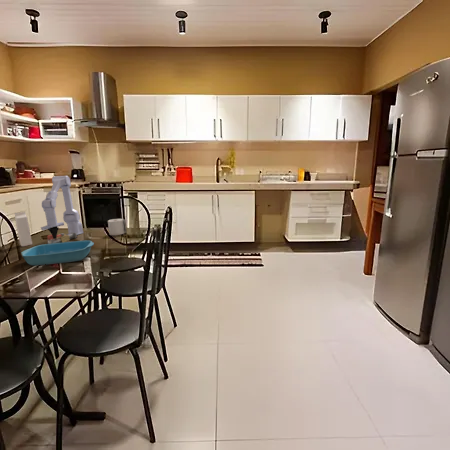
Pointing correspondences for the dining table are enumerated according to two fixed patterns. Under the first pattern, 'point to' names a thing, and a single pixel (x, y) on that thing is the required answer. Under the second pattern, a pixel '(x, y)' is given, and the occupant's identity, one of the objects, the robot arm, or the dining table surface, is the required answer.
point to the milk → (23, 229)
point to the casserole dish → (57, 252)
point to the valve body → (63, 238)
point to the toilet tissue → (117, 226)
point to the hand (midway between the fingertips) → (55, 238)
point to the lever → (52, 236)
